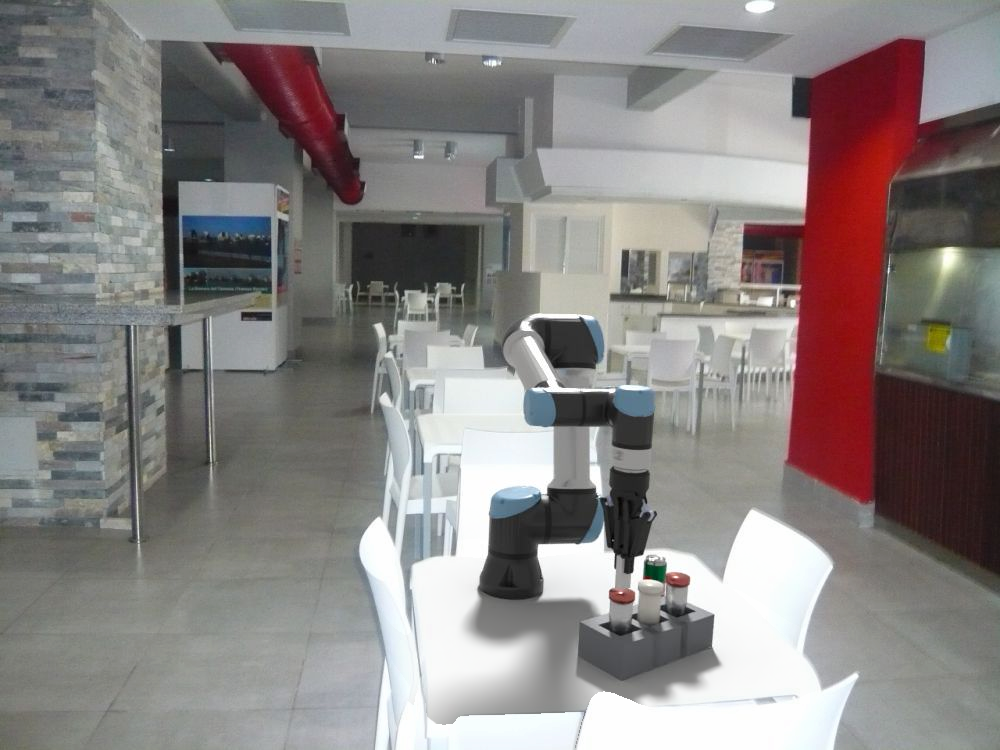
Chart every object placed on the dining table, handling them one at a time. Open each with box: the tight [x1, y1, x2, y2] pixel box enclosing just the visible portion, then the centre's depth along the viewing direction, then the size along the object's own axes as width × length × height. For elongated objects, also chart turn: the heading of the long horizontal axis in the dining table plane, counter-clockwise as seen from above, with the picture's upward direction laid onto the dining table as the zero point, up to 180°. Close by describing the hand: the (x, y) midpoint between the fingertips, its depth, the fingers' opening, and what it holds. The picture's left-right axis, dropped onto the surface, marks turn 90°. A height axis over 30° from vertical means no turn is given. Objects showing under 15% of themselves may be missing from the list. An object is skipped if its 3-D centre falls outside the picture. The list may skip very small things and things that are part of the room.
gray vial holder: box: [577, 596, 715, 681], centre depth 174 cm, size 26×12×7 cm, turn 128°
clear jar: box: [664, 571, 691, 618], centre depth 179 cm, size 5×5×9 cm
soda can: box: [642, 554, 668, 597], centre depth 195 cm, size 5×5×12 cm
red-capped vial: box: [608, 587, 636, 636], centre depth 169 cm, size 5×5×9 cm
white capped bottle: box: [637, 579, 664, 627], centre depth 174 cm, size 5×5×9 cm
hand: (622, 587), depth 168 cm, fingers closed
